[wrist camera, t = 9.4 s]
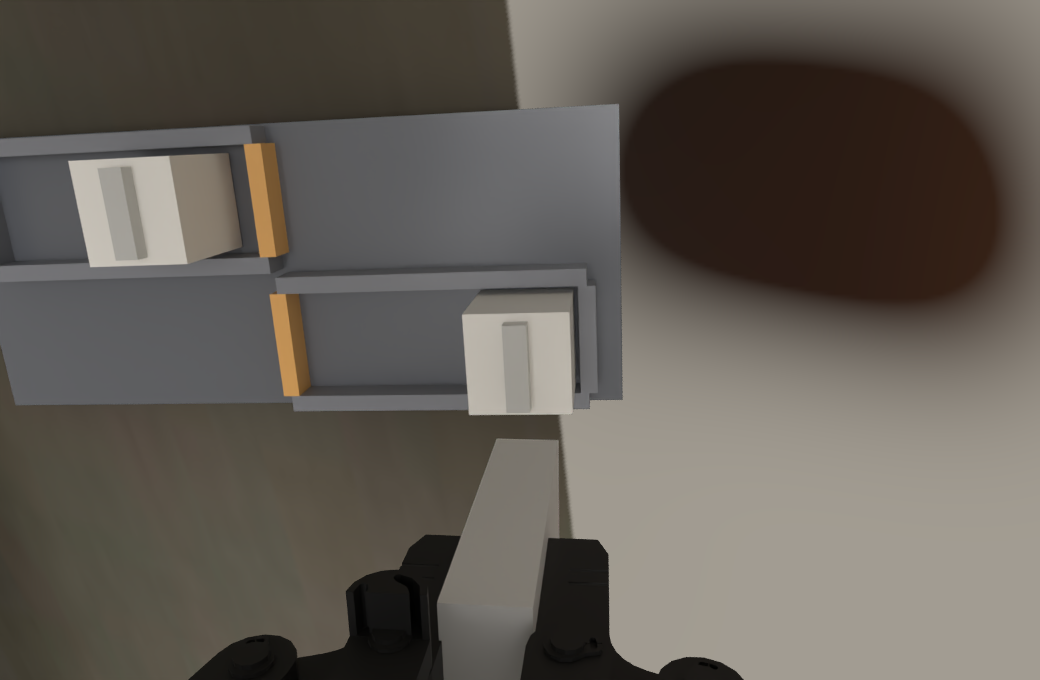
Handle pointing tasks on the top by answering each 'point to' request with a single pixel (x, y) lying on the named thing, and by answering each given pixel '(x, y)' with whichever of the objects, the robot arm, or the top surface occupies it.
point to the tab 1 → (156, 209)
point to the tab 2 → (520, 352)
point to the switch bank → (318, 262)
